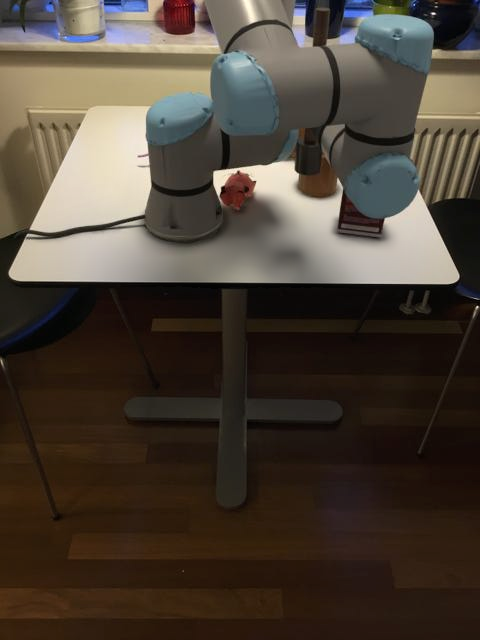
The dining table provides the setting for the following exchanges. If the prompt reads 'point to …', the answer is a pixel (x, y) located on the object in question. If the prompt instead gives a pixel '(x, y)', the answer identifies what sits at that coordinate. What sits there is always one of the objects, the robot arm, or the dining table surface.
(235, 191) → the cat figurine
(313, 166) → the dark brown rod
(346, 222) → the supplement box
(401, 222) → the dining table surface
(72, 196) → the dining table surface
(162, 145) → the robot arm
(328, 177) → the jar
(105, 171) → the dining table surface
